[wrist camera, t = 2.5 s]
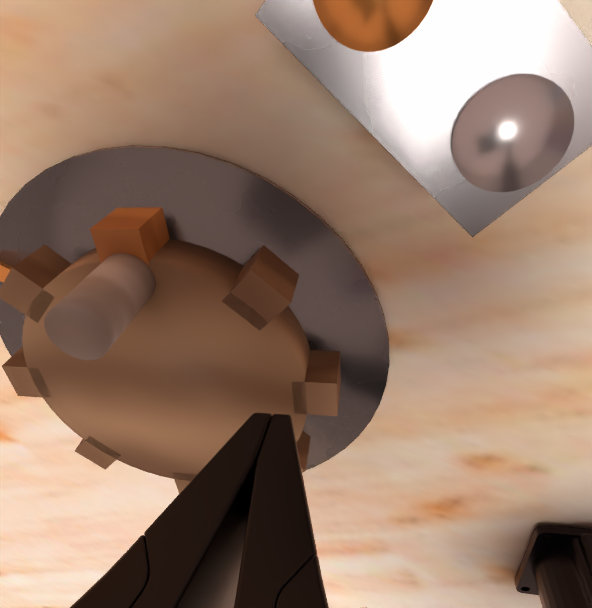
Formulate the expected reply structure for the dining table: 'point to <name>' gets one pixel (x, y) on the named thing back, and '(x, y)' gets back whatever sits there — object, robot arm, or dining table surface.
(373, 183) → the dining table surface
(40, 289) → the sprocket
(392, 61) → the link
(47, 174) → the sprocket base
